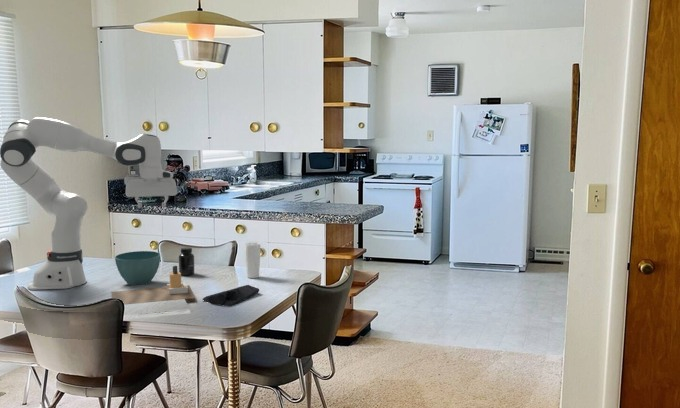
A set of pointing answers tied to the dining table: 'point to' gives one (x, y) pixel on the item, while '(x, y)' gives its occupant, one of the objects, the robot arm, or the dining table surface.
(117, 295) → the board
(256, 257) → the drinking glass
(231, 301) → the dark slate chunk
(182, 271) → the supplement bottle
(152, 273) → the teal bowl
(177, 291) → the plug holder
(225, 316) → the dining table surface
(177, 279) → the tan block with tip
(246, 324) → the dining table surface
